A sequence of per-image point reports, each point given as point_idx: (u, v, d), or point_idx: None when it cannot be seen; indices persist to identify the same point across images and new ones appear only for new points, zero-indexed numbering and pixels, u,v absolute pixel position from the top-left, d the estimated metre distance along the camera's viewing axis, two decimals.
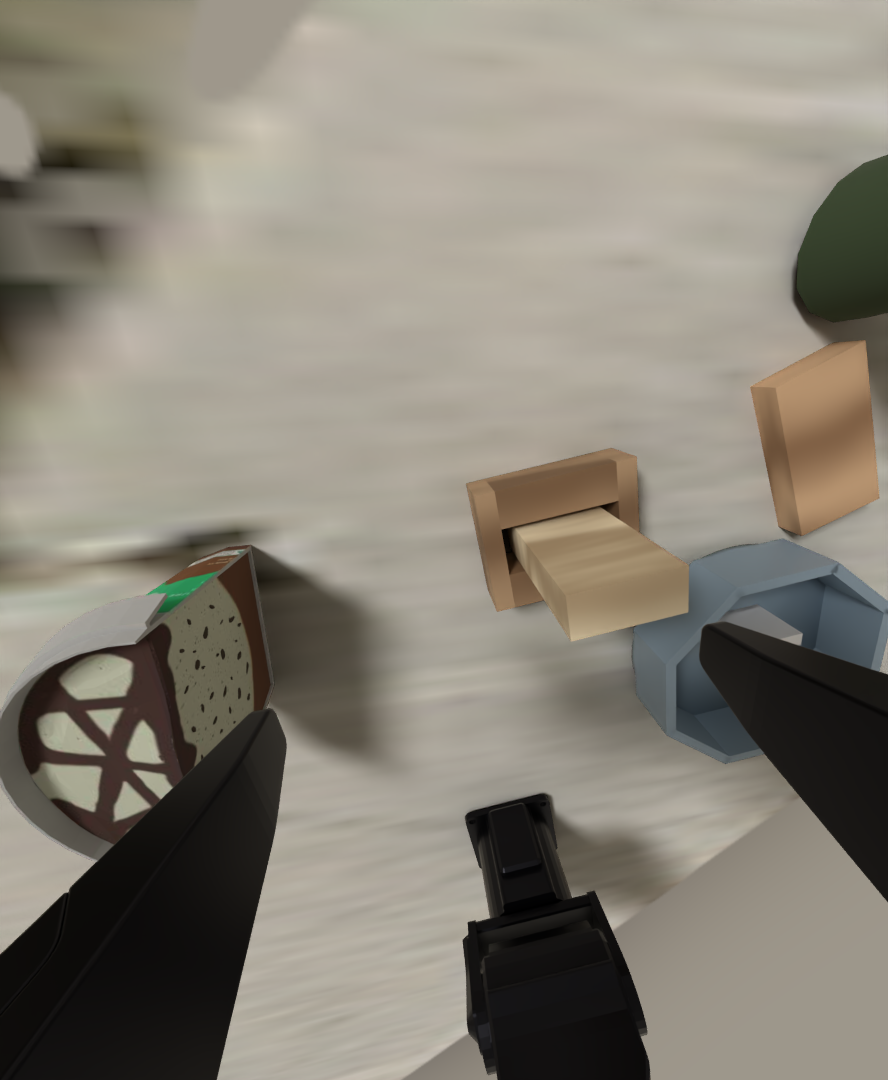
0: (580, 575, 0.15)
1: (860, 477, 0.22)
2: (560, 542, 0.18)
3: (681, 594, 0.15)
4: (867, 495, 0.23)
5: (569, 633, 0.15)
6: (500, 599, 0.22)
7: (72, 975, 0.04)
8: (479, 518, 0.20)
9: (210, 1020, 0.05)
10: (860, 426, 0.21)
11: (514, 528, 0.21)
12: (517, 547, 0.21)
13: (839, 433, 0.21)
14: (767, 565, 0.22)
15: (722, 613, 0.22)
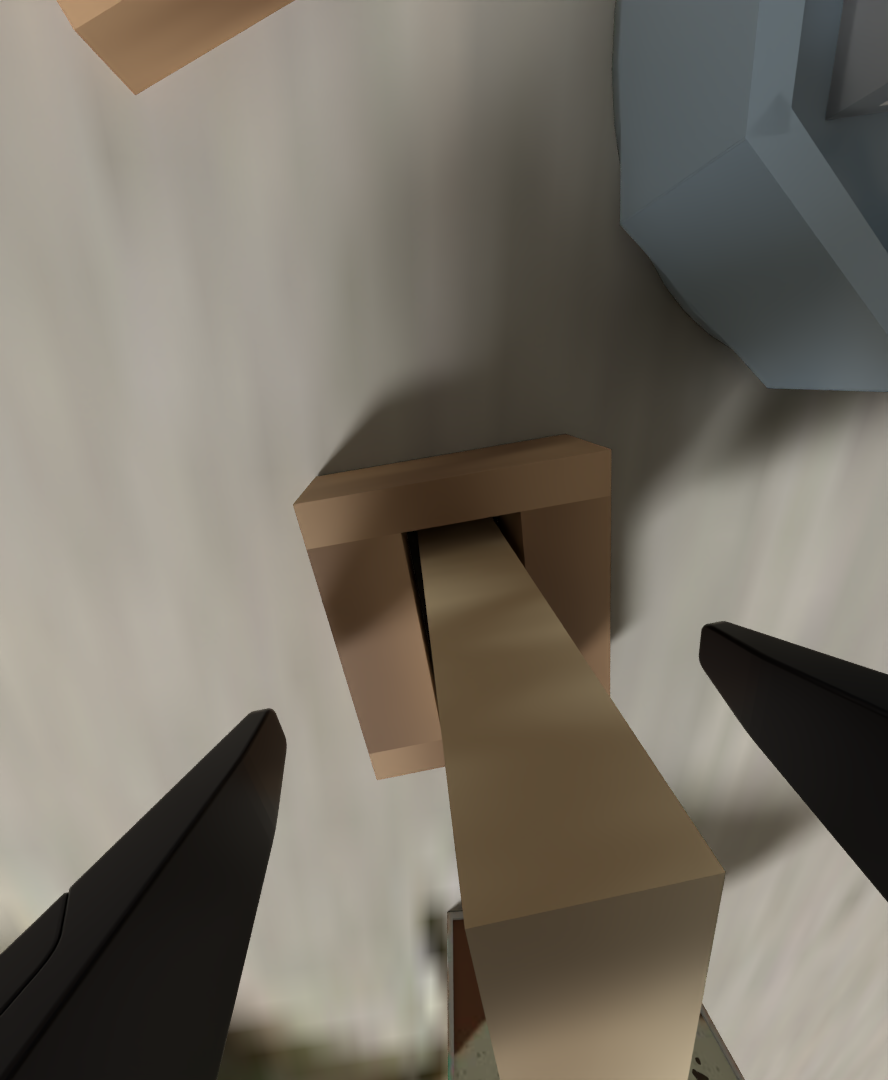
0: None
1: None
2: None
3: (614, 918, 0.03)
4: None
5: None
6: None
7: (72, 975, 0.04)
8: (418, 769, 0.11)
9: (210, 1020, 0.05)
10: None
11: None
12: None
13: None
14: None
15: (831, 190, 0.06)
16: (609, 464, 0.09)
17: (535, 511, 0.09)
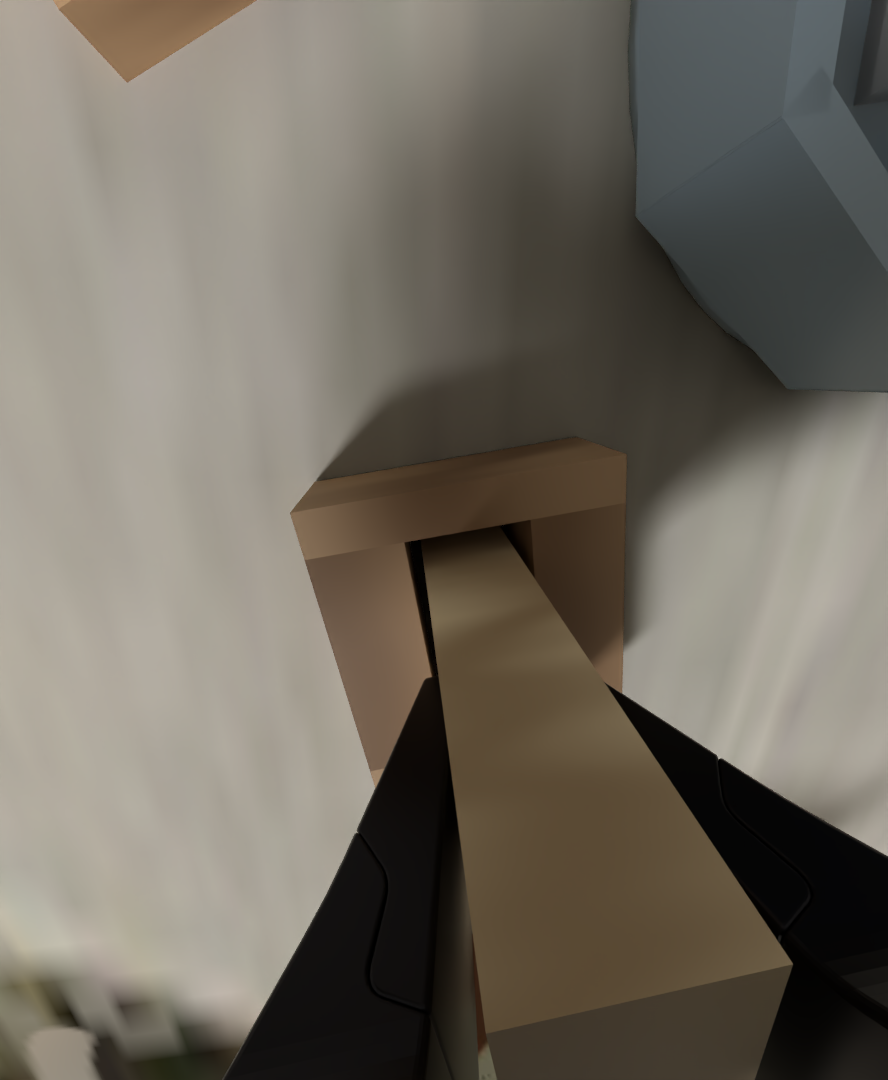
0: None
1: None
2: None
3: (660, 1015, 0.03)
4: None
5: None
6: None
7: (425, 900, 0.04)
8: None
9: (469, 963, 0.05)
10: None
11: None
12: None
13: None
14: None
15: (873, 175, 0.05)
16: (624, 470, 0.08)
17: (546, 519, 0.08)
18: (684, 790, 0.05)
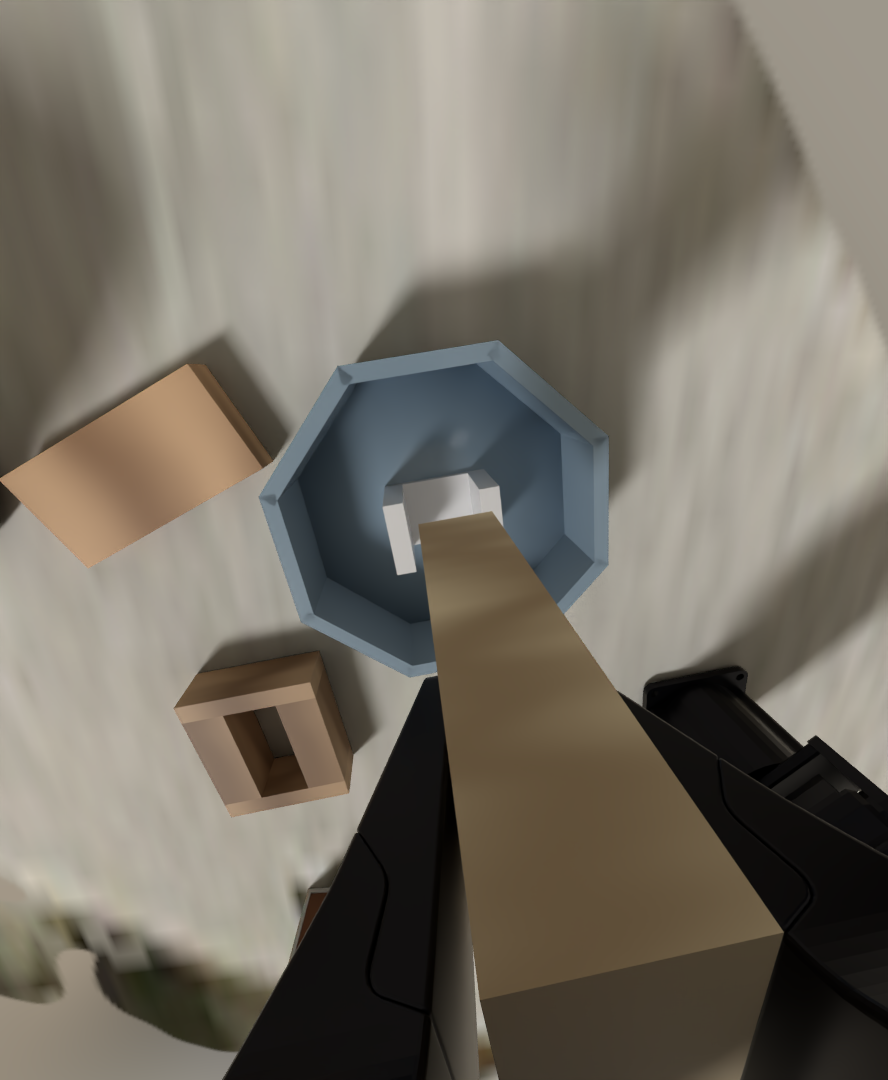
0: None
1: (163, 410, 0.16)
2: None
3: (653, 984, 0.03)
4: (187, 386, 0.16)
5: None
6: (335, 792, 0.23)
7: (425, 900, 0.04)
8: (252, 811, 0.23)
9: (469, 963, 0.05)
10: (97, 441, 0.16)
11: None
12: None
13: (114, 468, 0.16)
14: None
15: (338, 630, 0.17)
16: (312, 686, 0.20)
17: (282, 705, 0.20)
18: None
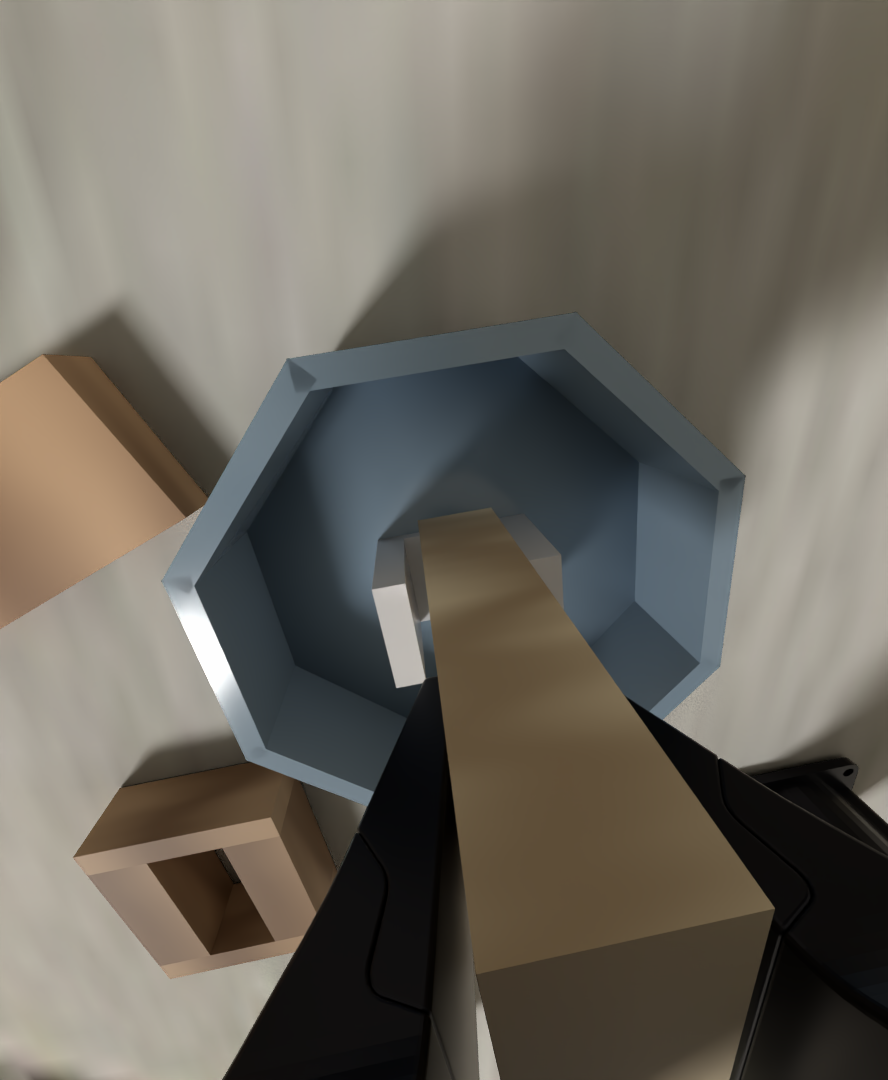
0: None
1: (12, 431, 0.10)
2: None
3: (646, 960, 0.03)
4: (47, 392, 0.10)
5: None
6: None
7: (425, 900, 0.04)
8: (198, 971, 0.17)
9: (469, 963, 0.05)
10: None
11: None
12: None
13: None
14: None
15: (305, 769, 0.11)
16: (274, 821, 0.14)
17: (232, 846, 0.14)
18: None
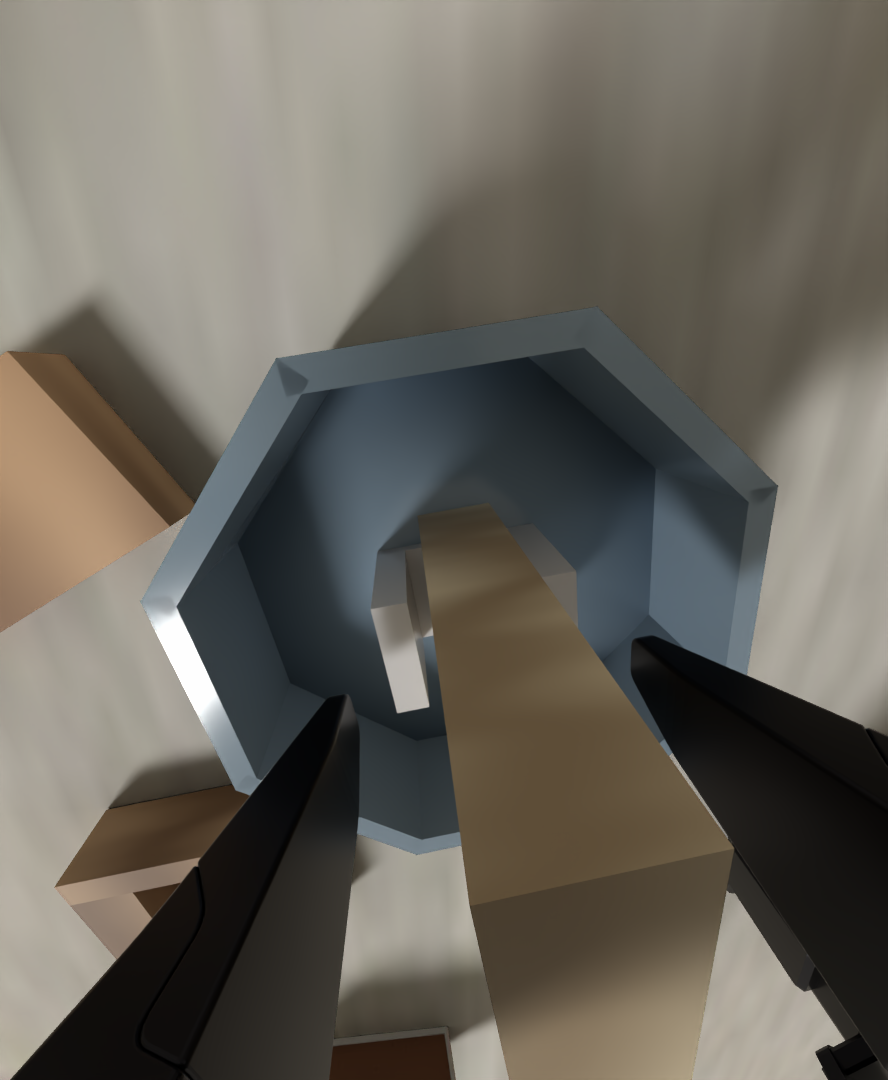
0: None
1: None
2: None
3: (621, 895, 0.03)
4: (14, 393, 0.09)
5: None
6: None
7: (229, 941, 0.04)
8: None
9: (325, 994, 0.05)
10: None
11: None
12: None
13: None
14: None
15: None
16: None
17: None
18: (844, 757, 0.05)
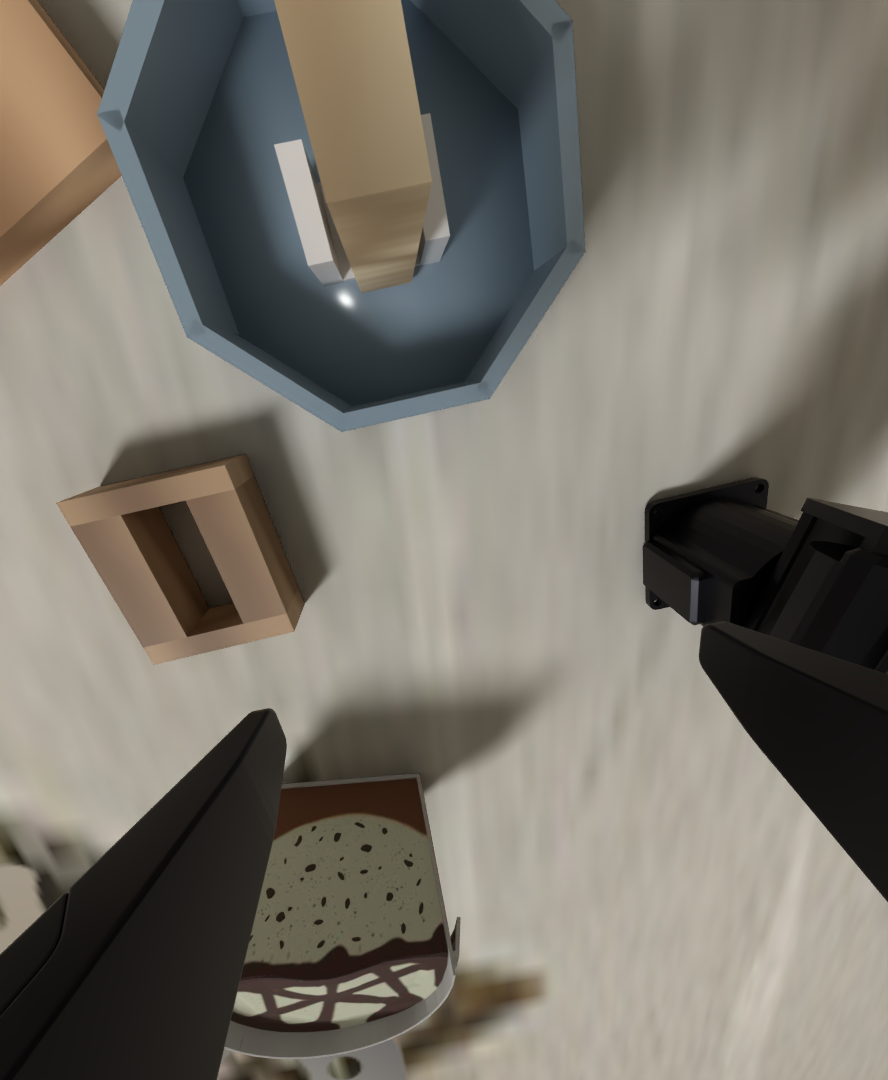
0: None
1: None
2: None
3: None
4: None
5: (416, 186, 0.08)
6: (277, 629, 0.19)
7: (72, 975, 0.04)
8: (178, 657, 0.19)
9: (210, 1020, 0.05)
10: None
11: (358, 281, 0.14)
12: (388, 275, 0.14)
13: None
14: None
15: (238, 352, 0.13)
16: (229, 473, 0.16)
17: (194, 500, 0.16)
18: None
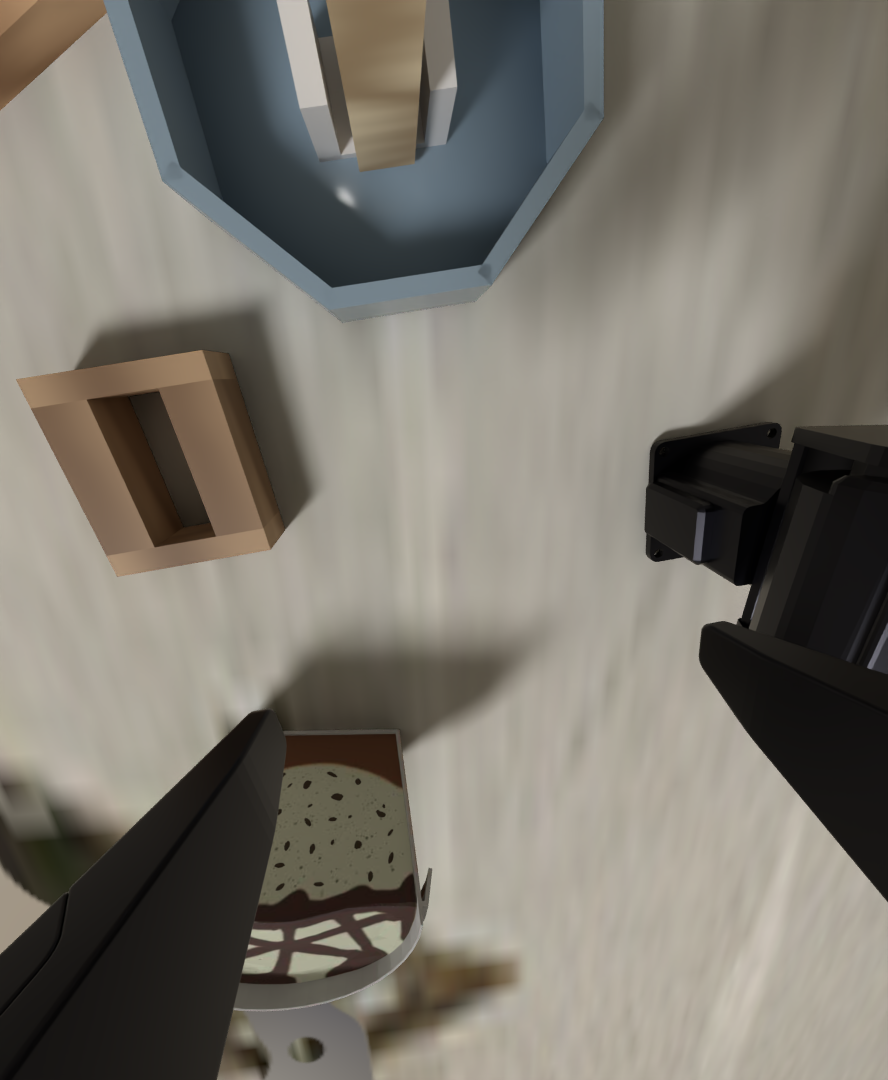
0: None
1: None
2: None
3: None
4: None
5: None
6: (252, 546, 0.18)
7: (72, 975, 0.04)
8: (144, 570, 0.18)
9: (210, 1020, 0.05)
10: None
11: (355, 142, 0.13)
12: (388, 137, 0.13)
13: None
14: None
15: (219, 204, 0.12)
16: (206, 360, 0.15)
17: (167, 388, 0.15)
18: None
